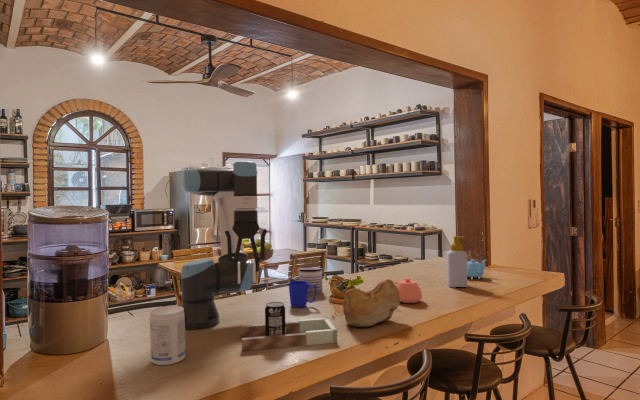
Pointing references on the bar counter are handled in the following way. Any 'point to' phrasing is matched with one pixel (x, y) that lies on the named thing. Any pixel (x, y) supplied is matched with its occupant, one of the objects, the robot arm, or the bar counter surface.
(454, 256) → the soap bottle
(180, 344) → the supplement tub
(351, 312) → the rough brown rock
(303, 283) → the mug
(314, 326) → the pale grey box
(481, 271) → the teapot
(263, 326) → the trough
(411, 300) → the sugar bowl
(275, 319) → the beverage can
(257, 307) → the bar counter surface
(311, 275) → the can
